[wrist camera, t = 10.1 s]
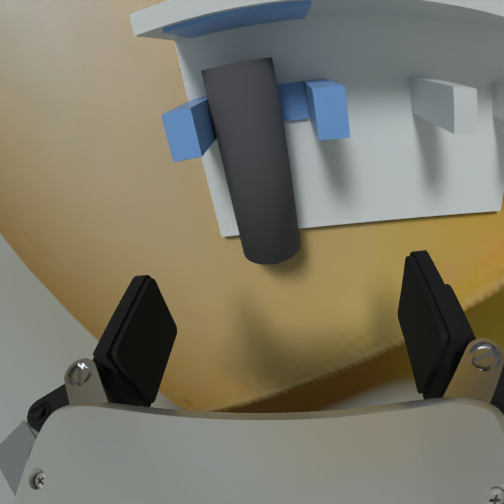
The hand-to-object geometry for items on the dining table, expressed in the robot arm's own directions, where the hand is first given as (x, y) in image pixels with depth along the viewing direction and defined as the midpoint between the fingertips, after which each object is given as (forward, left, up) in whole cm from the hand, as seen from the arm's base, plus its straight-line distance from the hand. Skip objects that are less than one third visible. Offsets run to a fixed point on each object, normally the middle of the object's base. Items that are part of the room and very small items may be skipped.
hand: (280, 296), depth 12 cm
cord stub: (-3, 0, -8) cm, 8 cm away
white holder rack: (-7, +5, -9) cm, 12 cm away
